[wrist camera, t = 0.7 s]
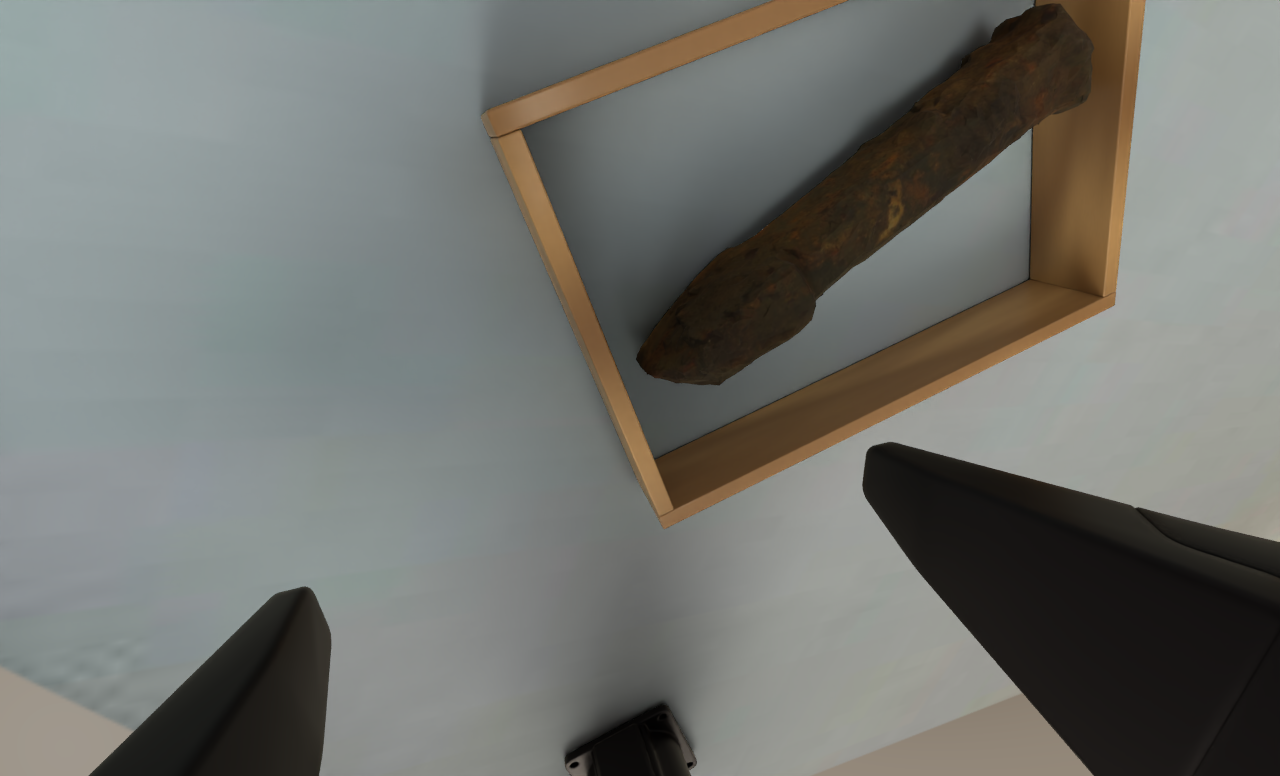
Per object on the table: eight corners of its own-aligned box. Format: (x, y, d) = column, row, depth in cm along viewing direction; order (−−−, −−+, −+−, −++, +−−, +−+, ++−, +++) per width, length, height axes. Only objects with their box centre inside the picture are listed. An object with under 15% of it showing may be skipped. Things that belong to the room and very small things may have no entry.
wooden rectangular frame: (1040, 286, 28) (1115, 305, 25) (637, 481, 25) (664, 529, 22) (1052, -106, 20) (1161, -150, 17) (479, 115, 18) (485, 110, 15)
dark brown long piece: (992, 11, 21) (1117, -19, 17) (1012, 110, 23) (1128, 103, 19) (595, 301, 21) (628, 339, 17) (648, 376, 23) (688, 425, 19)
